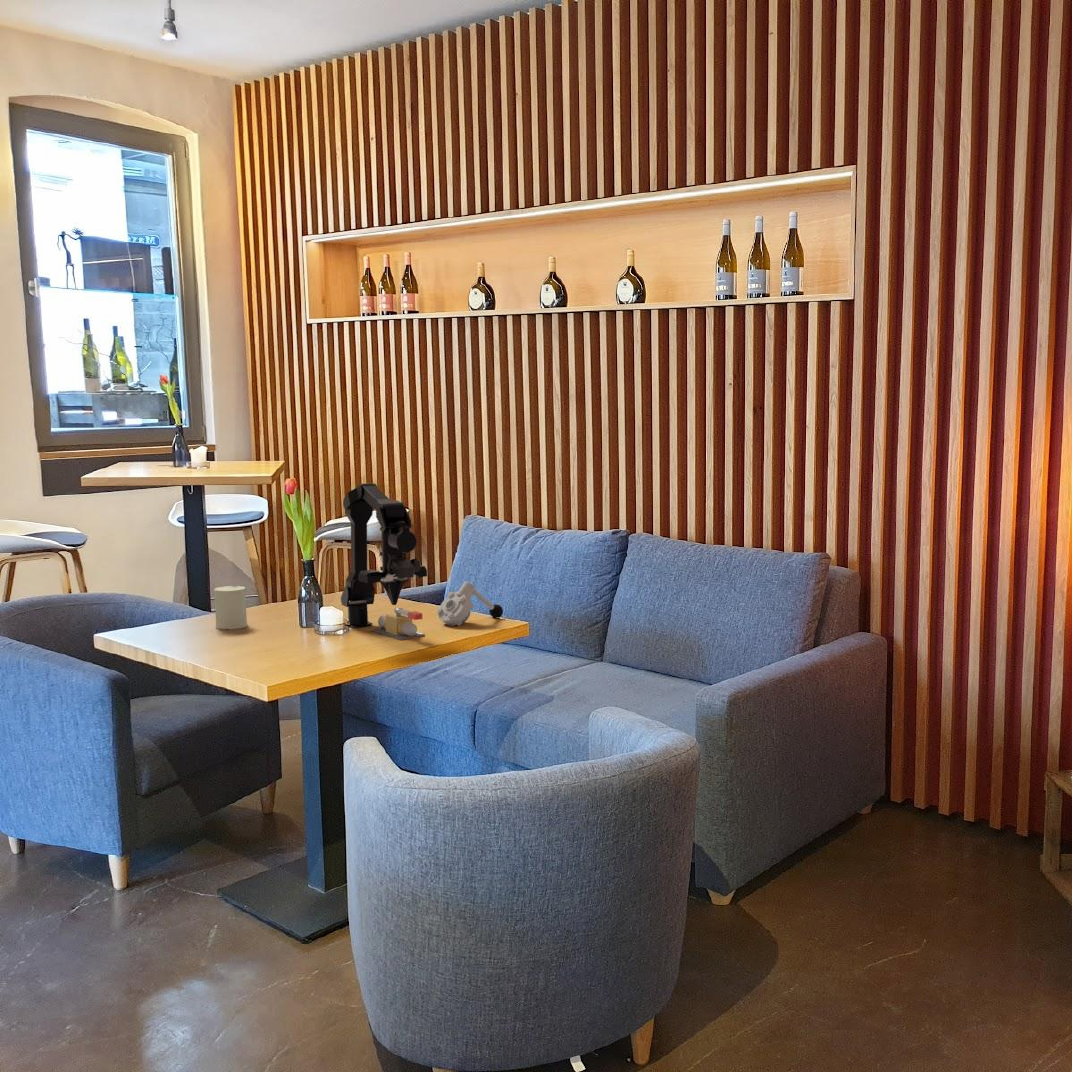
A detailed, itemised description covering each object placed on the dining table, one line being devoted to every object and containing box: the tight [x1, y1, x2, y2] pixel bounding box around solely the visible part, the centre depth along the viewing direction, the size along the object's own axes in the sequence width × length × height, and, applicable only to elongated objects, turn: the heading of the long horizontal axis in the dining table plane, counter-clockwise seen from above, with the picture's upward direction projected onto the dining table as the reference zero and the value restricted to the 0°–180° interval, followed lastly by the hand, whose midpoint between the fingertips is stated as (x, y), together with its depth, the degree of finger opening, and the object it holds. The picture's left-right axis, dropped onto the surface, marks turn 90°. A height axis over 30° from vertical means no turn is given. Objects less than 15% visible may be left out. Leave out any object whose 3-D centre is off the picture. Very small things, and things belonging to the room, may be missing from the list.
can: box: [213, 585, 248, 630], centre depth 336 cm, size 9×9×12 cm
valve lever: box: [393, 607, 423, 621], centre depth 318 cm, size 13×2×2 cm, turn 36°
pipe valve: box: [370, 613, 426, 641], centre depth 323 cm, size 17×8×6 cm, turn 37°
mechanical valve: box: [436, 580, 504, 627], centre depth 340 cm, size 10×18×15 cm
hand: (394, 604), depth 310 cm, fingers closed
